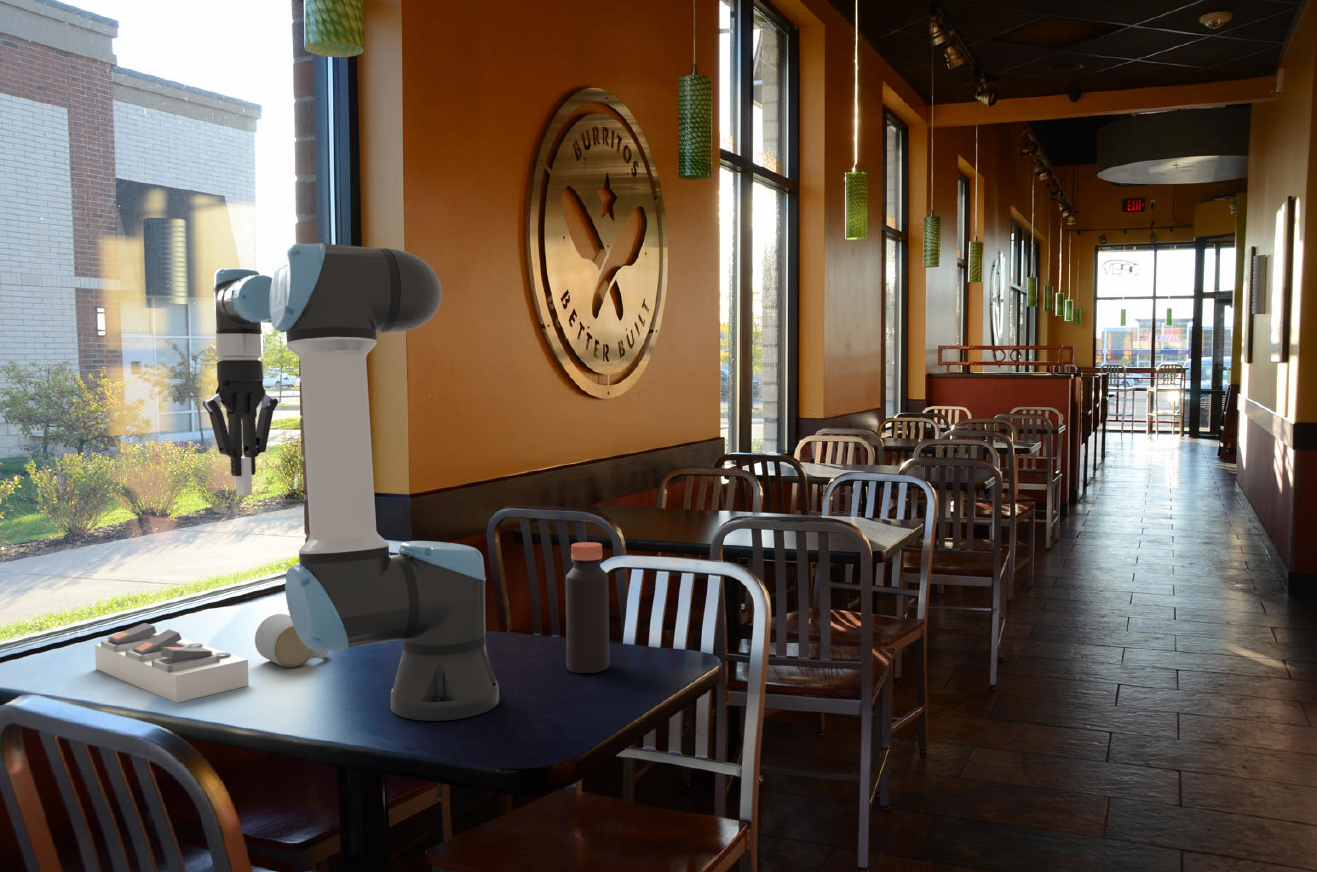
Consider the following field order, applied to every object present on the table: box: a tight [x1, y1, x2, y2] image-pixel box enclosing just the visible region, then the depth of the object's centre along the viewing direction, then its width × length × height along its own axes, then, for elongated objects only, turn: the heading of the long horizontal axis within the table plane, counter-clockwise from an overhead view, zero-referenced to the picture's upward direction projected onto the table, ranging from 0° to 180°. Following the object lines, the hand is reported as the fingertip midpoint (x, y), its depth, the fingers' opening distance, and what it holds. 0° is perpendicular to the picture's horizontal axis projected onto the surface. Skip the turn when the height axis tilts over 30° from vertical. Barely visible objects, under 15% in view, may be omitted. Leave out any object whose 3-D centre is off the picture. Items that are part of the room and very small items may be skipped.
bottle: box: [565, 541, 610, 674], centre depth 168 cm, size 7×7×20 cm
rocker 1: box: [107, 622, 157, 645], centre depth 170 cm, size 4×6×1 cm, turn 139°
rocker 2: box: [161, 647, 212, 659], centre depth 158 cm, size 4×6×1 cm, turn 140°
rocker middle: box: [132, 629, 182, 655], centre depth 164 cm, size 4×6×1 cm, turn 140°
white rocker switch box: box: [94, 631, 250, 704], centre depth 165 cm, size 28×11×5 cm, turn 50°
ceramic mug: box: [254, 613, 330, 668], centre depth 174 cm, size 11×8×8 cm
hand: (244, 494), depth 184 cm, fingers closed
